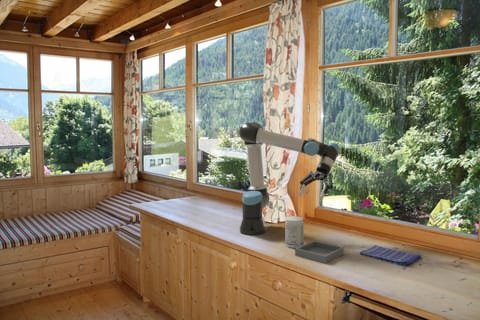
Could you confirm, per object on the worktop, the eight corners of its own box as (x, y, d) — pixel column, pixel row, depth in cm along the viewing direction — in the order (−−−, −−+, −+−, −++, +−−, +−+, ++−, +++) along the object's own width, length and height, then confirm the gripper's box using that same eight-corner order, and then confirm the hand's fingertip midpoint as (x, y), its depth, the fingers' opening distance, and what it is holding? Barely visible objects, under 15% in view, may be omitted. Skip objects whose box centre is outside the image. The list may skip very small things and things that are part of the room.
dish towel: (407, 268, 175) (407, 262, 175) (358, 255, 192) (358, 250, 192) (422, 258, 187) (422, 253, 186) (375, 247, 204) (375, 242, 204)
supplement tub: (296, 241, 214) (296, 215, 212) (307, 246, 205) (307, 218, 204) (281, 244, 209) (281, 217, 207) (292, 249, 201) (292, 221, 199)
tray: (295, 255, 192) (295, 248, 192) (314, 246, 205) (314, 240, 204) (325, 263, 181) (325, 256, 180) (343, 254, 193) (343, 247, 193)
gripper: (347, 172, 218) (333, 203, 208) (308, 169, 235) (294, 197, 225) (342, 163, 213) (327, 195, 204) (303, 161, 230) (288, 189, 221)
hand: (310, 196), depth 215 cm, fingers open, 13 cm apart
